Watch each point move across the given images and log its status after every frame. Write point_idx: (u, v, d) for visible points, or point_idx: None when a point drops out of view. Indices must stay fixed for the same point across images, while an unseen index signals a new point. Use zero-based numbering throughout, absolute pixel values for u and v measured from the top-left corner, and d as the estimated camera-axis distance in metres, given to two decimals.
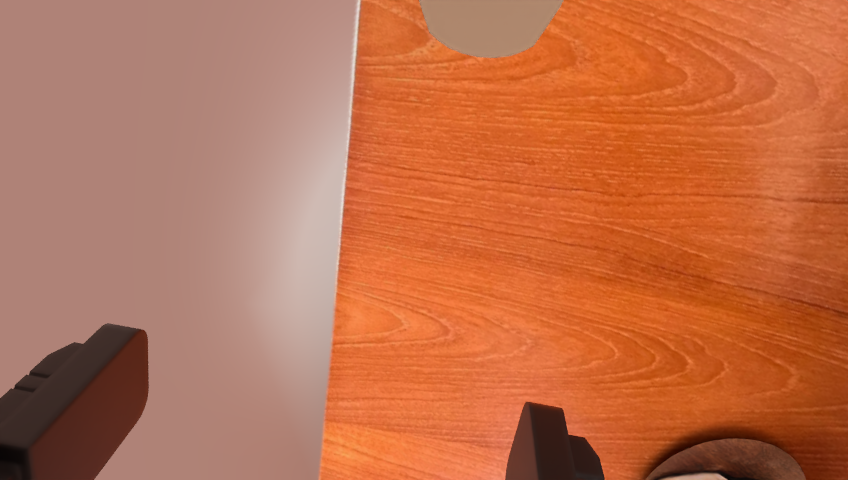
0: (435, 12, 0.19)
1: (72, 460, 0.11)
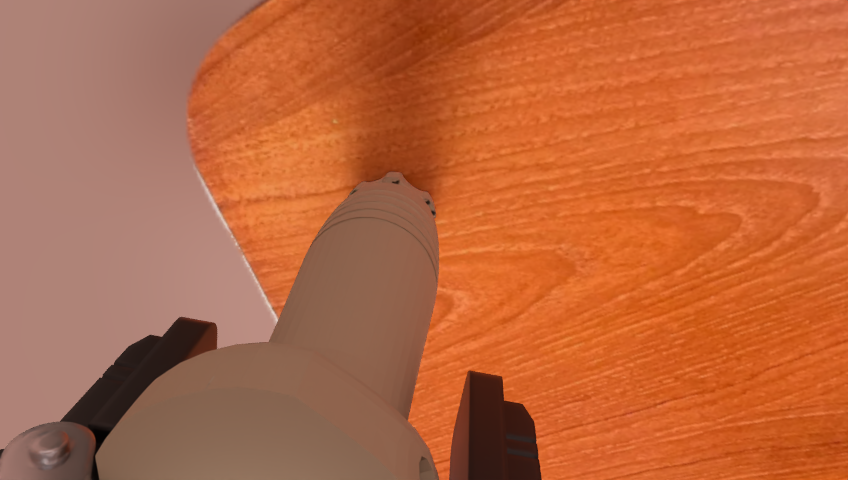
0: None
1: None
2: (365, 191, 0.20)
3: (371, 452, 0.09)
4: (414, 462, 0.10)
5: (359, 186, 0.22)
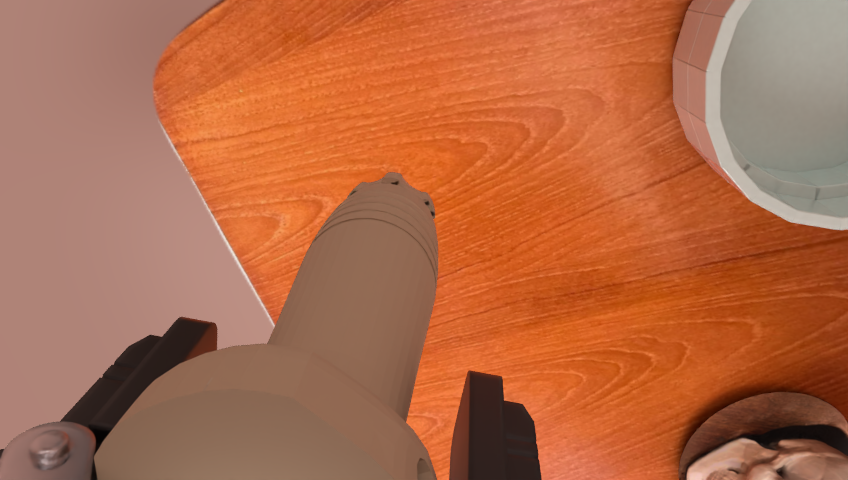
0: None
1: None
2: (364, 192, 0.20)
3: (369, 453, 0.09)
4: (412, 463, 0.10)
5: (358, 187, 0.22)
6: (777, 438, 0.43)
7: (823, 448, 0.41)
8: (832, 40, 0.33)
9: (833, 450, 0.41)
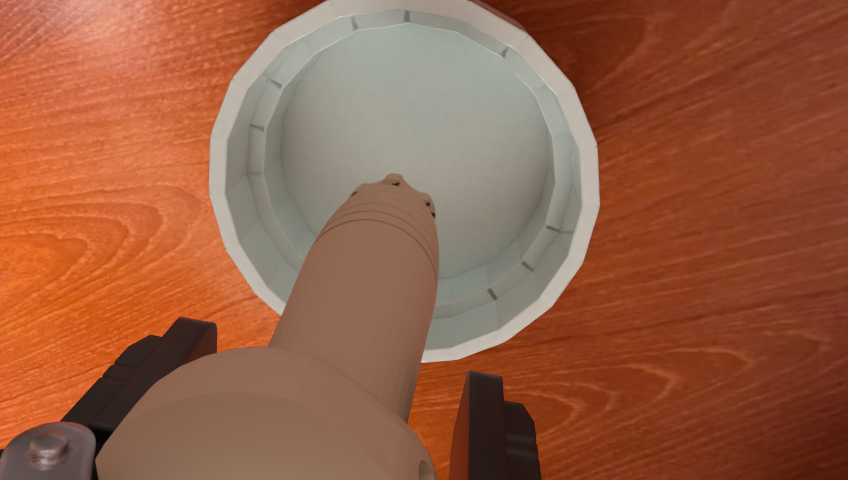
0: None
1: None
2: (365, 193, 0.20)
3: (371, 455, 0.09)
4: (413, 466, 0.10)
5: (359, 188, 0.22)
6: None
7: None
8: (419, 144, 0.29)
9: None
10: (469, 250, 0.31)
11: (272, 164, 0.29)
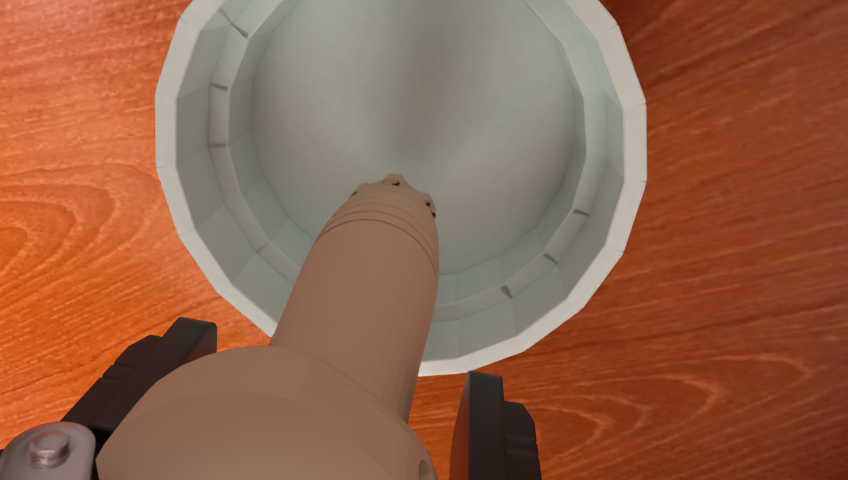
0: None
1: None
2: (365, 193, 0.20)
3: (371, 455, 0.09)
4: (414, 465, 0.10)
5: (359, 188, 0.22)
6: None
7: None
8: (419, 111, 0.24)
9: None
10: (478, 240, 0.26)
11: (240, 134, 0.24)
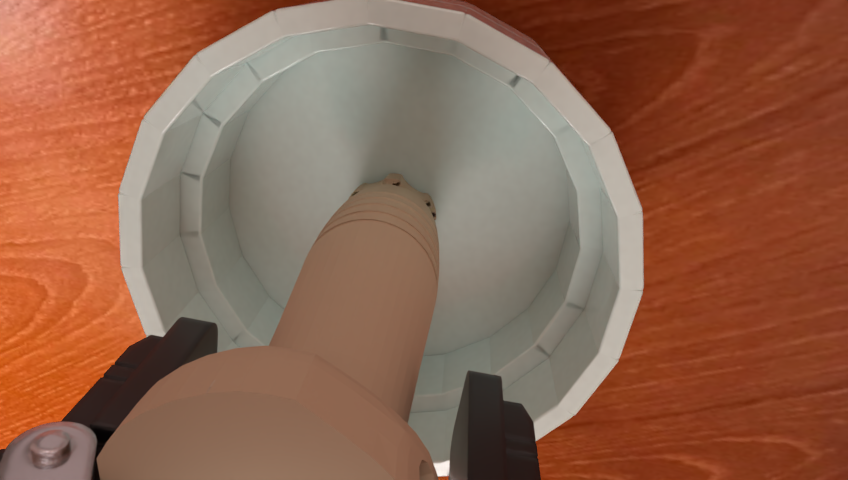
0: None
1: None
2: (366, 193, 0.20)
3: (372, 455, 0.09)
4: (414, 465, 0.10)
5: (360, 188, 0.22)
6: None
7: None
8: None
9: None
10: (467, 321, 0.25)
11: (216, 218, 0.23)
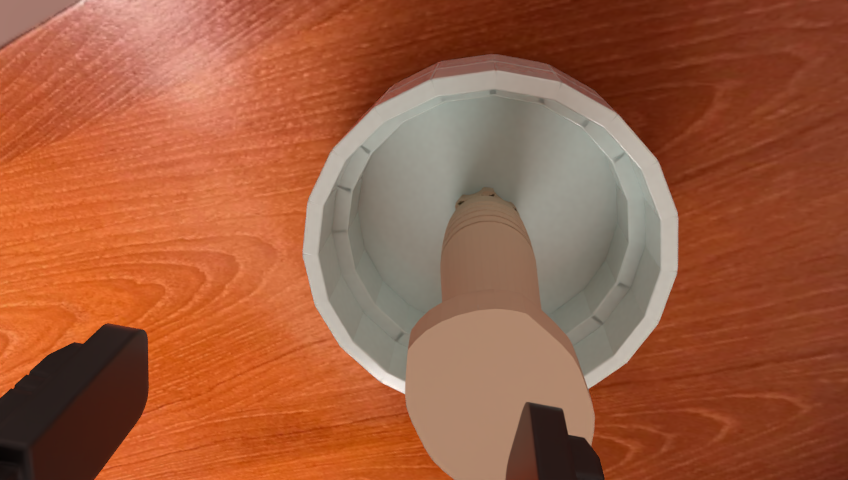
0: None
1: (72, 459, 0.11)
2: (476, 202, 0.27)
3: (562, 344, 0.16)
4: (575, 356, 0.17)
5: (463, 198, 0.29)
6: None
7: None
8: None
9: None
10: None
11: (353, 220, 0.30)
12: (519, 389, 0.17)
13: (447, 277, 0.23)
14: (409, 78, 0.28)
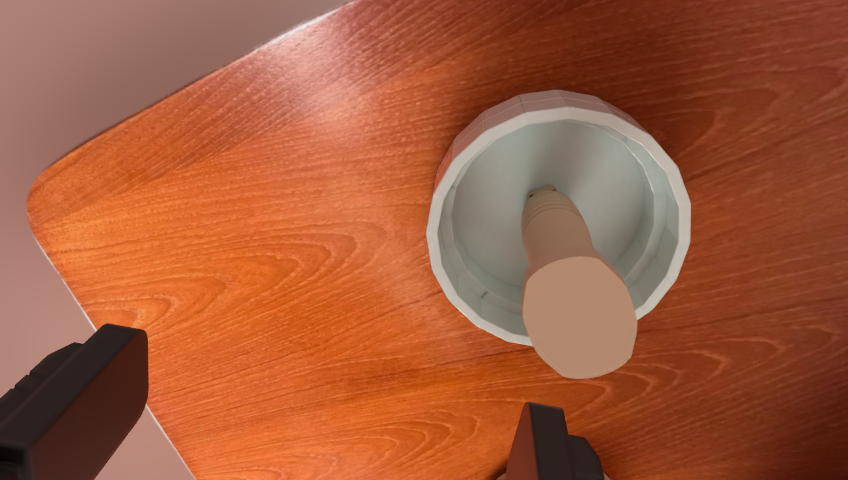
0: (560, 365, 0.29)
1: (71, 459, 0.11)
2: (545, 195, 0.39)
3: (619, 278, 0.27)
4: None
5: (533, 192, 0.41)
6: None
7: None
8: None
9: None
10: None
11: None
12: (592, 306, 0.28)
13: (533, 245, 0.34)
14: (498, 107, 0.39)
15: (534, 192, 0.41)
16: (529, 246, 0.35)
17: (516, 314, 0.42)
